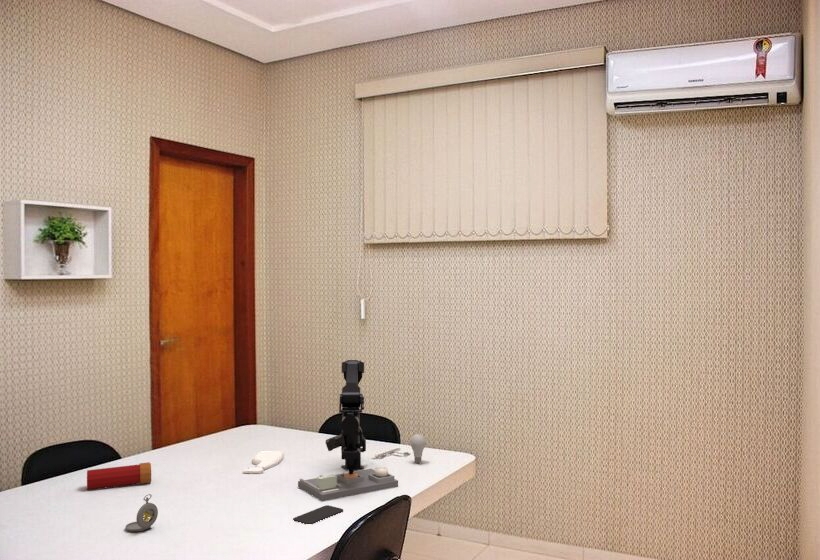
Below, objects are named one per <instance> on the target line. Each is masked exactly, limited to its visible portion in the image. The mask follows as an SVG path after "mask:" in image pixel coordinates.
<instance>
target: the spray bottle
mask: <svg viewBox="0 0 820 560" xmlns="http://www.w3.org/2000/svg"><path fill="white" fill-rule="evenodd" d="M284 458H285V454H284V451H282V450H262V451H260V452H258V453H256V455H254V457H252V459H251V462H252V465H255V464H256V465H255V466H254V467H253V468H251V467H248V468H247V469H243V470H242V474H249V473H259V474H264V473H265V472H264V471H265V470H267V469H271V468H273V467H276V466H277V465H279V464H280V463H281V462H282V461H283V460H284ZM282 459H283V460H282ZM278 463H279V464H278ZM272 466H273V467H272ZM270 467H271V468H270Z"/></svg>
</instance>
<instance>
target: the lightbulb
mask: <svg viewBox="0 0 820 560" xmlns="http://www.w3.org/2000/svg"><path fill="white" fill-rule="evenodd" d="M409 443H410V444H409V445H410V448H411V449H412V452H413V456H414V462H415V463H416V464H420V463H421V462H422V457H423V451H424V450H425V447H426V445H427V440H426V438H425V436H424V435H422V434H419V433H417V434H414V435H412V437H411V438H410V441H409Z"/></svg>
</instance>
